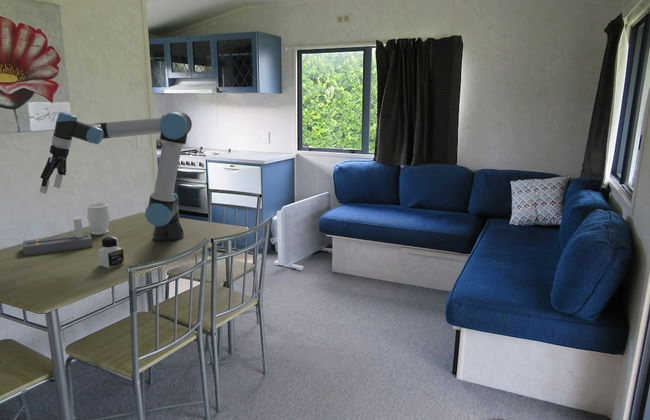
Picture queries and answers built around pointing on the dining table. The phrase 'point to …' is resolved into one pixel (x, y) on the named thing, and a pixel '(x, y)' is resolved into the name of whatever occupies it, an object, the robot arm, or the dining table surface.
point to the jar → (98, 218)
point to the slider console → (56, 244)
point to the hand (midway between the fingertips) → (50, 190)
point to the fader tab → (78, 227)
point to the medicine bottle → (110, 253)
